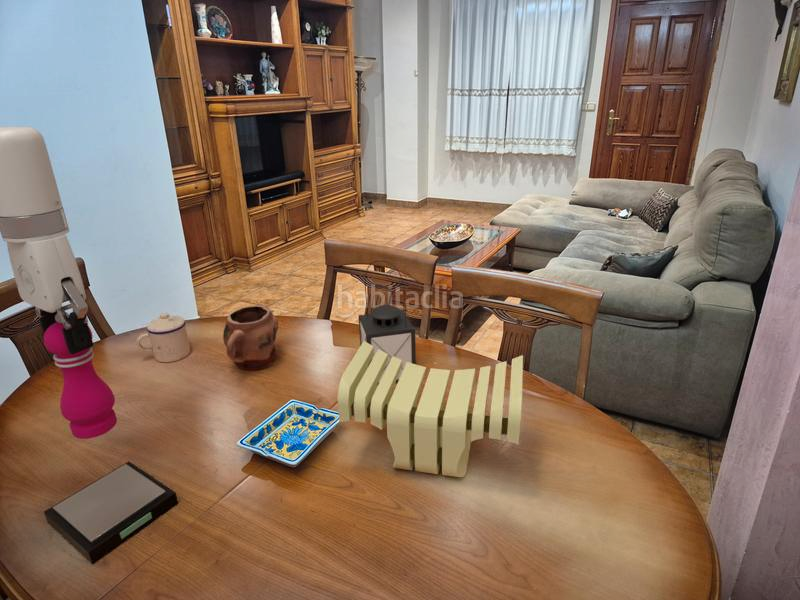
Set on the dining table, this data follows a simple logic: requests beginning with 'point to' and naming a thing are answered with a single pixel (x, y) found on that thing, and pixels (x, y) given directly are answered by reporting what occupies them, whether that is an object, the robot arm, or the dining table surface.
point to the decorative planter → (251, 337)
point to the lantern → (389, 332)
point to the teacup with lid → (167, 338)
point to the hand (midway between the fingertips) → (69, 343)
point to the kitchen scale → (110, 510)
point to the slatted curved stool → (429, 409)
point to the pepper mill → (81, 387)
